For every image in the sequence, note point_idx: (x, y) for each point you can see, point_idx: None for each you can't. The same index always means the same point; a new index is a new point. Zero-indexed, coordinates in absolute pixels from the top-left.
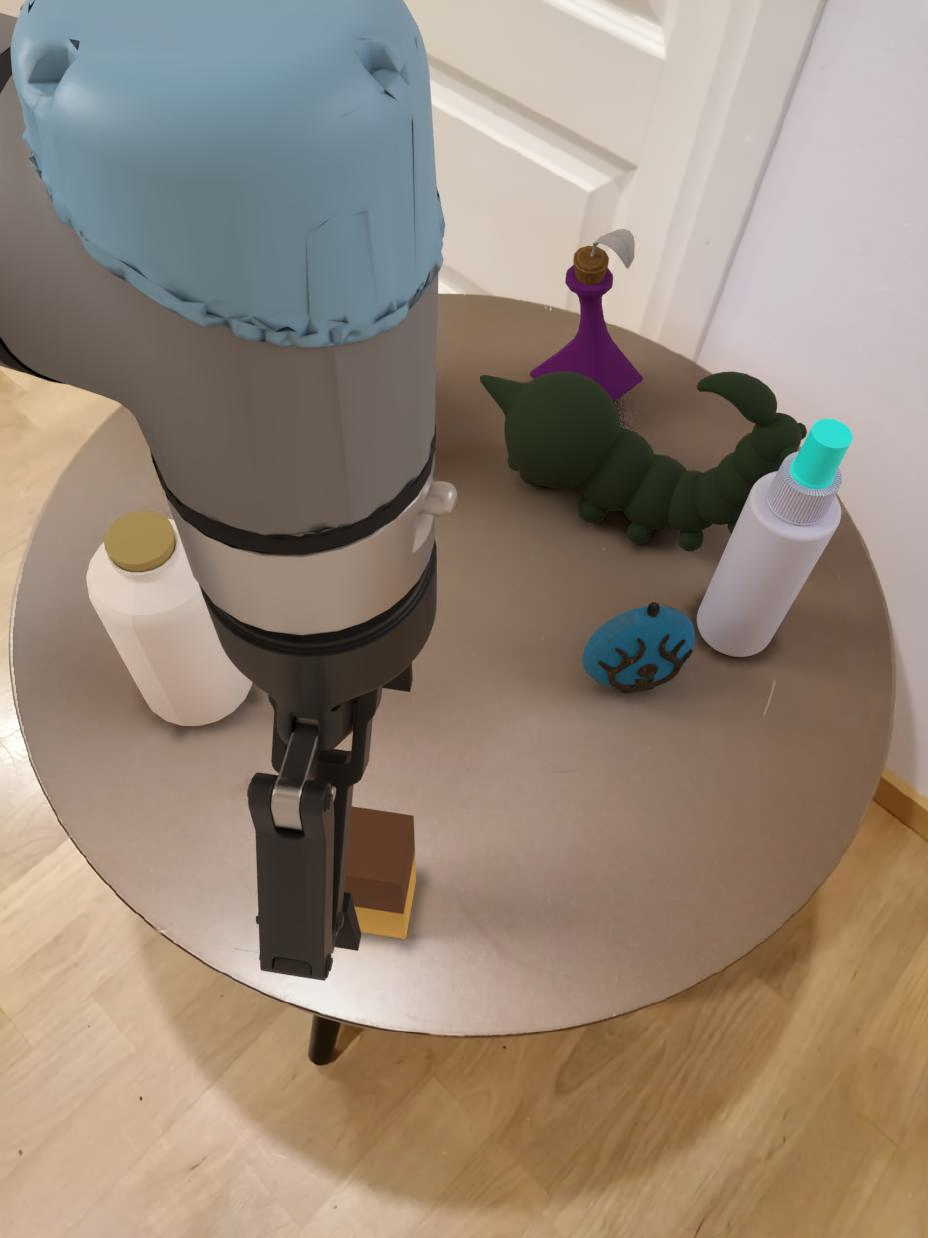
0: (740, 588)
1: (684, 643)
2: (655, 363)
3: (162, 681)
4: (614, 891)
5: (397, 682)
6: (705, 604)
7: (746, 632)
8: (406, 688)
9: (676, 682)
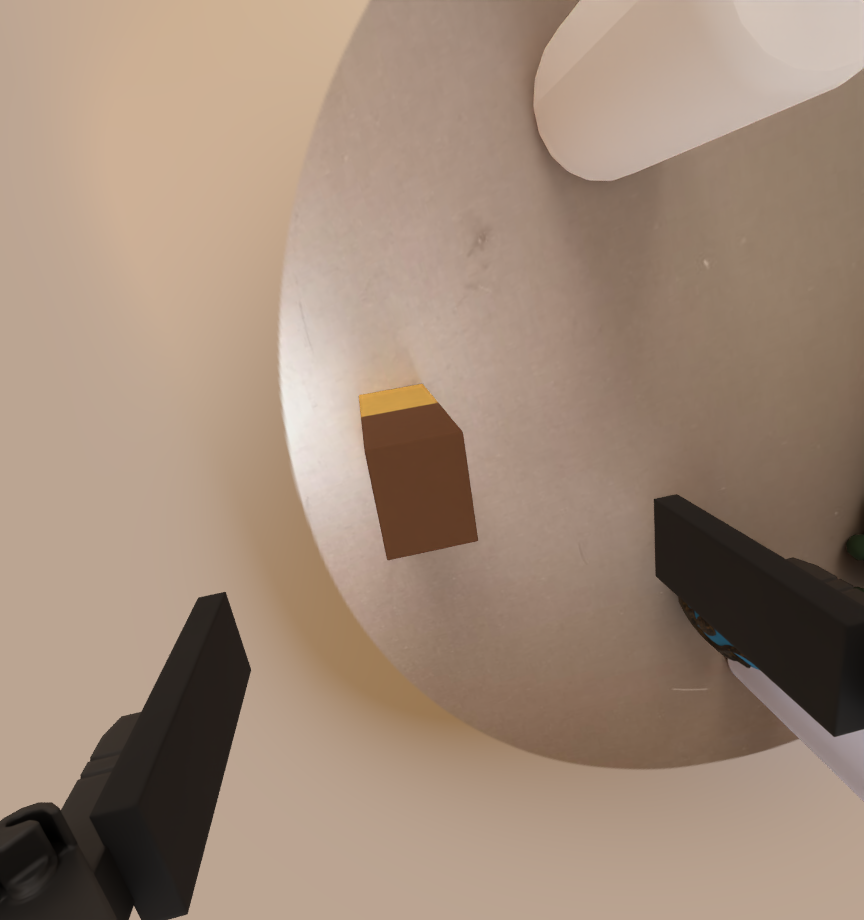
0: None
1: (746, 667)
2: None
3: (588, 57)
4: (479, 625)
5: (671, 572)
6: None
7: (760, 688)
8: (662, 577)
9: None
